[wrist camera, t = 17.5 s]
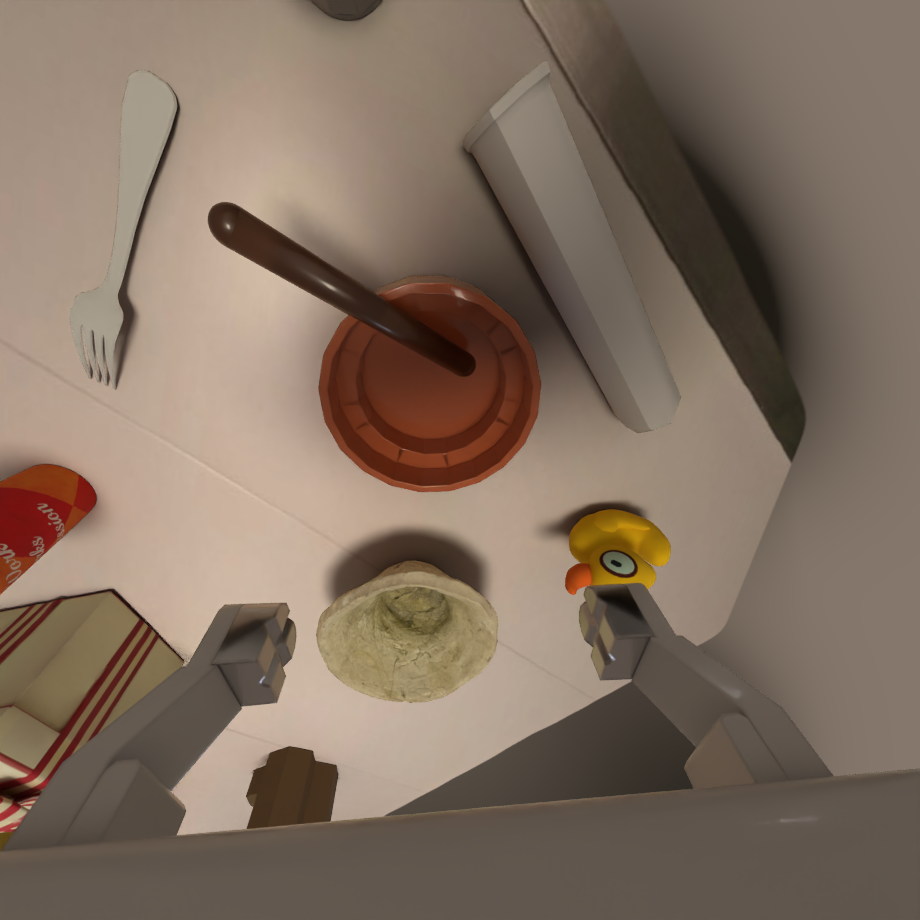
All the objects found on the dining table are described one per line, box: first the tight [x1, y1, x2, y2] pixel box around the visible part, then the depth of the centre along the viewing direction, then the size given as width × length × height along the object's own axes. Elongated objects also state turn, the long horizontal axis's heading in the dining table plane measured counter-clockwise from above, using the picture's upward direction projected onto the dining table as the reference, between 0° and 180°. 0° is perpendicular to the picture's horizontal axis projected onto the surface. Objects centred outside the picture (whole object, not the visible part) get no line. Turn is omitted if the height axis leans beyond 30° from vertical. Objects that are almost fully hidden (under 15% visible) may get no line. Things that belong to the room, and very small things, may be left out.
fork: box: [70, 70, 177, 389], centre depth 25 cm, size 3×21×3 cm, turn 148°
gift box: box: [0, 591, 184, 833], centre depth 38 cm, size 17×18×17 cm
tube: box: [463, 61, 681, 433], centre depth 27 cm, size 5×5×25 cm
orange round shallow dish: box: [318, 275, 541, 492], centre depth 29 cm, size 15×15×6 cm
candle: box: [246, 747, 338, 829], centre depth 58 cm, size 14×14×15 cm
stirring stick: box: [208, 202, 476, 377], centre depth 22 cm, size 2×2×17 cm
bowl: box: [316, 560, 498, 703], centre depth 38 cm, size 14×18×15 cm
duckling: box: [565, 509, 671, 595], centre depth 37 cm, size 11×5×10 cm, turn 94°
